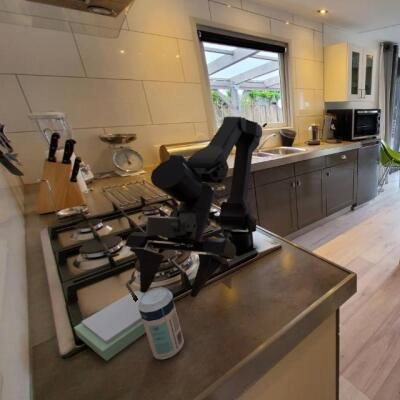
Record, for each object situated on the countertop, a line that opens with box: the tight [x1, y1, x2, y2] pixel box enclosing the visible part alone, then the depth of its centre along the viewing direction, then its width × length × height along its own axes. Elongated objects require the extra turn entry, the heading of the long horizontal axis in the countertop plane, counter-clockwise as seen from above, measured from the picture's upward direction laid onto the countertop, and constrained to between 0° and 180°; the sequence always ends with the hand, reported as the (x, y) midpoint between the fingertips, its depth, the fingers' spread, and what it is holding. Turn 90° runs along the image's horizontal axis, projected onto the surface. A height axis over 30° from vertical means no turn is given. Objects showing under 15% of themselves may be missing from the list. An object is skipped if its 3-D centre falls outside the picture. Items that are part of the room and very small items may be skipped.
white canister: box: [138, 286, 185, 360], centre depth 43 cm, size 5×5×12 cm
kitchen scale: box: [73, 290, 147, 362], centre depth 49 cm, size 11×10×3 cm
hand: (167, 294), depth 44 cm, fingers open, 9 cm apart
